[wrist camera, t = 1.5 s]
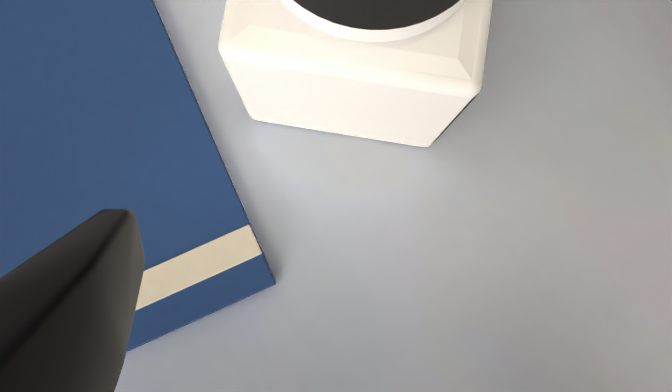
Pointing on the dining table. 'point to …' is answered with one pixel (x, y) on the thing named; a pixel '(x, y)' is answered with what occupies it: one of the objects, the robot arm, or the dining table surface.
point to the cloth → (118, 155)
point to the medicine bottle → (357, 63)
